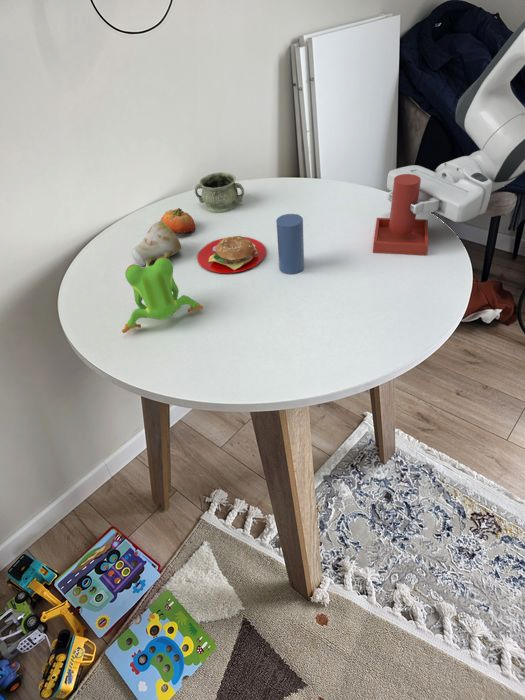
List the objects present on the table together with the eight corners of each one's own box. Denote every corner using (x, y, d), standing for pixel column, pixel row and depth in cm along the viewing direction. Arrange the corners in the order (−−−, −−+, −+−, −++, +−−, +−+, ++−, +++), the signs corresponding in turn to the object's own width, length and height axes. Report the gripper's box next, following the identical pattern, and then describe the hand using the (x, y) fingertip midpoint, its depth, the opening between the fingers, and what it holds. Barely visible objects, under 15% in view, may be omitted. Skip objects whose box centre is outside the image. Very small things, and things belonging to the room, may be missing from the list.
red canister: (419, 228, 96) (426, 178, 89) (402, 236, 94) (408, 187, 88) (400, 219, 99) (406, 171, 92) (383, 228, 97) (388, 179, 91)
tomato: (193, 233, 104) (168, 208, 102) (173, 253, 108) (148, 229, 106) (203, 221, 111) (179, 197, 109) (184, 240, 114) (161, 217, 112)
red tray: (426, 229, 101) (427, 219, 99) (426, 255, 94) (428, 244, 92) (376, 227, 103) (376, 217, 102) (372, 252, 96) (373, 242, 94)
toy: (193, 291, 91) (183, 244, 84) (207, 318, 85) (197, 268, 78) (116, 314, 88) (100, 266, 81) (125, 343, 81) (108, 294, 75)
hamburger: (279, 247, 100) (277, 220, 96) (239, 281, 92) (236, 254, 88) (224, 232, 107) (221, 207, 103) (183, 263, 98) (177, 237, 94)
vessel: (248, 196, 119) (246, 171, 115) (242, 213, 113) (239, 187, 109) (201, 197, 121) (197, 172, 117) (192, 213, 115) (187, 188, 111)
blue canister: (306, 261, 96) (305, 214, 89) (301, 275, 92) (300, 226, 85) (282, 260, 97) (279, 213, 90) (277, 273, 93) (273, 225, 87)
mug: (125, 263, 101) (131, 214, 98) (170, 268, 106) (177, 222, 103) (135, 271, 95) (142, 218, 92) (182, 276, 100) (190, 227, 97)
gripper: (419, 152, 102) (367, 170, 98) (500, 184, 88) (443, 206, 84) (415, 181, 106) (365, 200, 102) (491, 216, 93) (437, 239, 88)
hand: (401, 203), depth 93 cm, fingers closed on red canister, 5 cm apart
